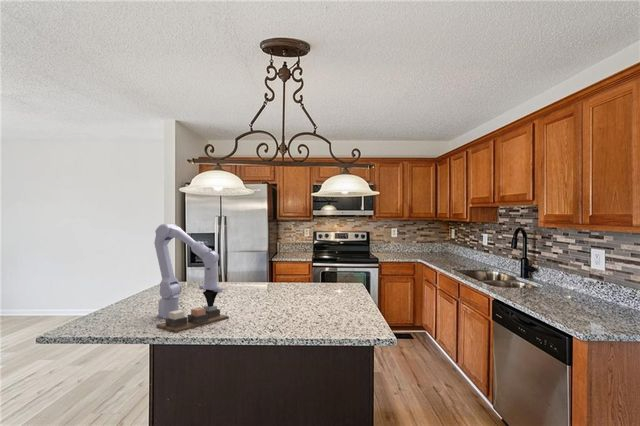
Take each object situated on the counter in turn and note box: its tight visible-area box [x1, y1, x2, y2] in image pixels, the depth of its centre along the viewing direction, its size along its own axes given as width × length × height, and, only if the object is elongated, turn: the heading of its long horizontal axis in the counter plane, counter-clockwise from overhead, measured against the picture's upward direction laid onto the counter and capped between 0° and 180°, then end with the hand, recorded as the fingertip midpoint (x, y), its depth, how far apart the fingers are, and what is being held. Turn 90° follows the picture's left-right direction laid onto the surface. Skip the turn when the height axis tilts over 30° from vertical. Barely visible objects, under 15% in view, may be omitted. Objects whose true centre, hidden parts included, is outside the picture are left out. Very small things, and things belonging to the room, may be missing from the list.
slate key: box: [203, 304, 218, 311], centre depth 179 cm, size 4×4×4 cm
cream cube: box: [169, 309, 185, 320], centre depth 164 cm, size 4×4×4 cm
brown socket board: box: [155, 308, 230, 334], centre depth 172 cm, size 14×28×4 cm, turn 145°
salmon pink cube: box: [190, 307, 206, 317], centre depth 170 cm, size 4×4×4 cm
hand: (210, 306), depth 179 cm, fingers closed, pressing on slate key
